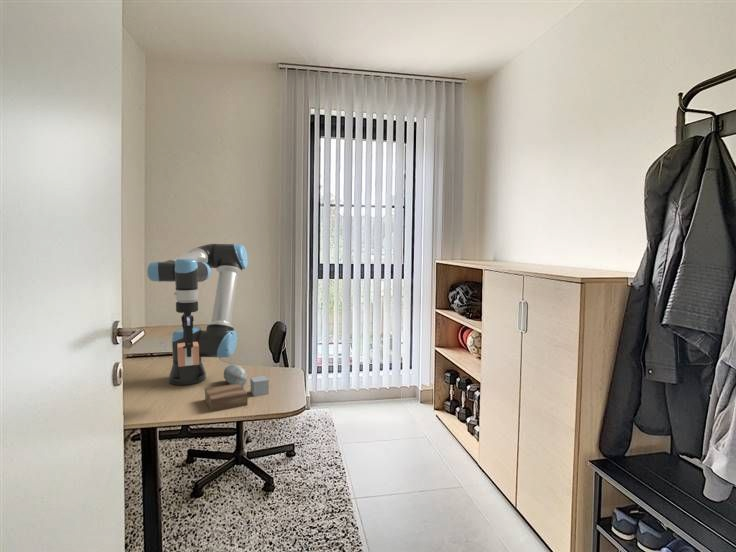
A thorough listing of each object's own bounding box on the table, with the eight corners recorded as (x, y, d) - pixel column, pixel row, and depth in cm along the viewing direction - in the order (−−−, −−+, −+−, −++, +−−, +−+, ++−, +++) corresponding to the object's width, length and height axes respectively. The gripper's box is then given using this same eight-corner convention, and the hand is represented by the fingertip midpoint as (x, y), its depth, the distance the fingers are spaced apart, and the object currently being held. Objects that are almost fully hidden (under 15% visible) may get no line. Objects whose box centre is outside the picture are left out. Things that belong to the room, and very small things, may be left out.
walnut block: (205, 400, 167) (204, 388, 166) (238, 395, 174) (238, 383, 173) (211, 412, 156) (211, 399, 155) (247, 406, 162) (247, 393, 162)
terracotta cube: (177, 361, 160) (177, 343, 160) (197, 359, 163) (197, 341, 163) (178, 366, 154) (178, 347, 154) (199, 364, 157) (198, 345, 157)
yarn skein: (216, 374, 188) (228, 355, 187) (236, 380, 193) (247, 361, 192) (221, 391, 176) (234, 371, 176) (242, 397, 181) (254, 377, 181)
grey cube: (250, 391, 177) (250, 377, 176) (265, 389, 179) (264, 375, 179) (253, 396, 171) (253, 382, 171) (268, 394, 174) (268, 379, 174)
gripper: (174, 297, 164) (176, 356, 166) (176, 305, 146) (178, 371, 148) (195, 296, 167) (197, 354, 169) (200, 304, 149) (201, 368, 152)
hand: (188, 362), depth 159 cm, fingers closed on terracotta cube, 7 cm apart
